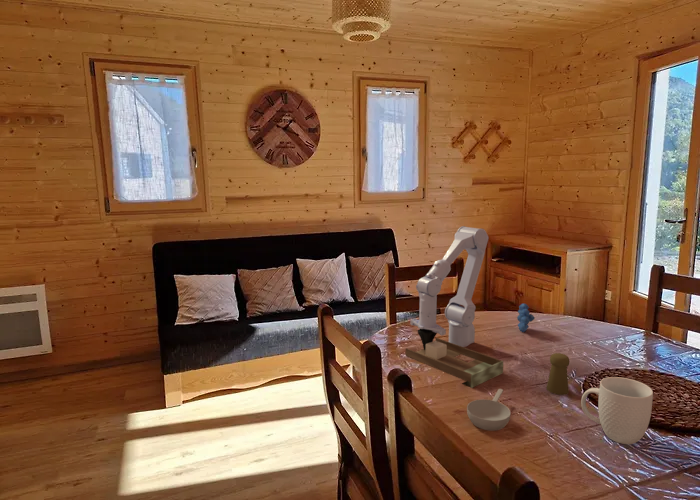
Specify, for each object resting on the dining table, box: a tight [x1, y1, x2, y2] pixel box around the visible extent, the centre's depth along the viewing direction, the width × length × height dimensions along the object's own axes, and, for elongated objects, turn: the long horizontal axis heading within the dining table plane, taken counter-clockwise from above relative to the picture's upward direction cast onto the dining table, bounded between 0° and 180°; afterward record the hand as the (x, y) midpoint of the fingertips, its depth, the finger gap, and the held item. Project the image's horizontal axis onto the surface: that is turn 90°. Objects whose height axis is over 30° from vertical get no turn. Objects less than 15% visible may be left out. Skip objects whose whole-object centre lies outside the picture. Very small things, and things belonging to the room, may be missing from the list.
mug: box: [580, 376, 654, 445], centre depth 114 cm, size 15×11×13 cm
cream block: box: [425, 340, 447, 360], centre depth 160 cm, size 5×5×4 cm
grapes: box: [516, 303, 536, 333], centre depth 186 cm, size 12×7×12 cm, turn 169°
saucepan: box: [466, 388, 511, 432], centre depth 124 cm, size 11×18×4 cm, turn 148°
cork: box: [546, 352, 570, 396], centre depth 137 cm, size 6×6×11 cm
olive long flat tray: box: [405, 337, 504, 389], centre depth 155 cm, size 16×28×4 cm, turn 39°
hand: (427, 349), depth 164 cm, fingers closed
